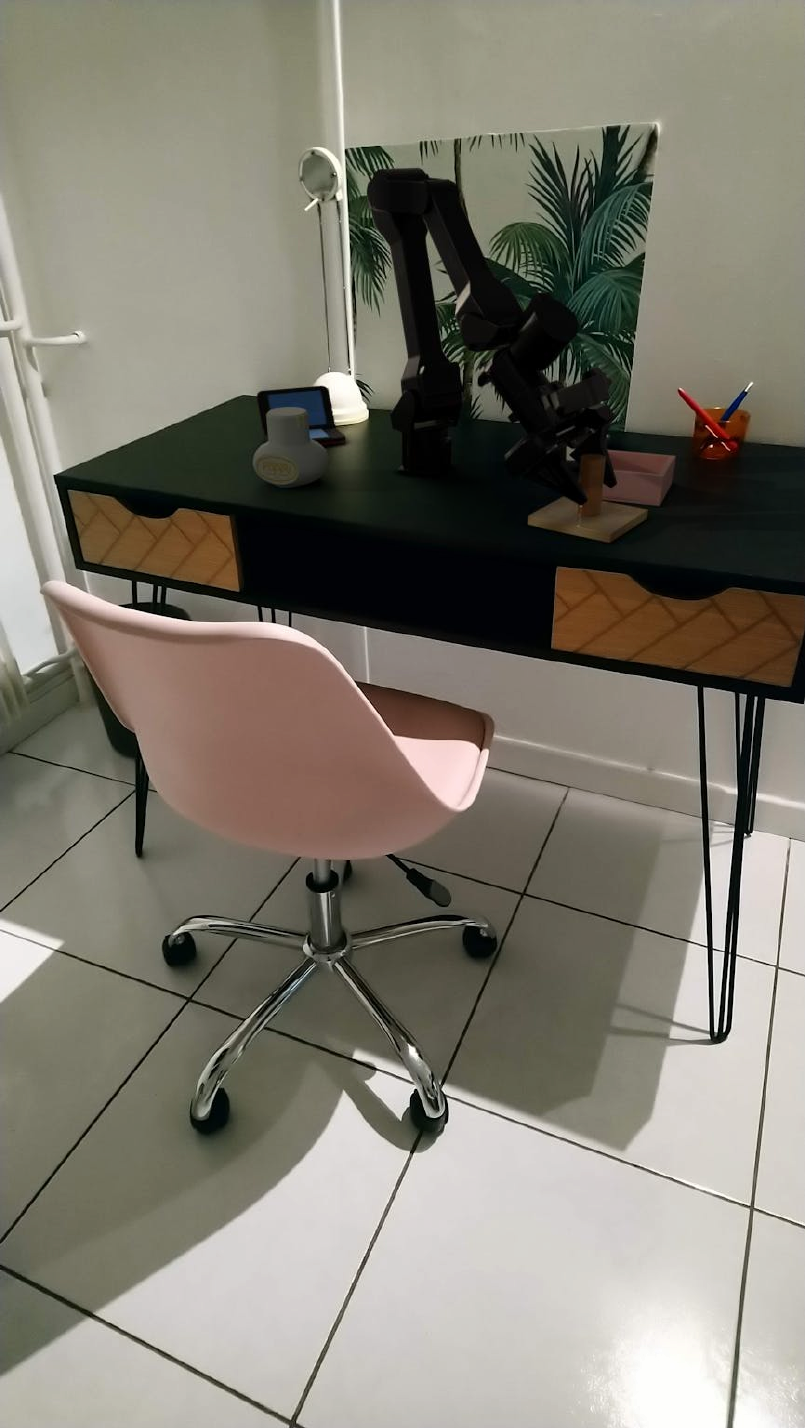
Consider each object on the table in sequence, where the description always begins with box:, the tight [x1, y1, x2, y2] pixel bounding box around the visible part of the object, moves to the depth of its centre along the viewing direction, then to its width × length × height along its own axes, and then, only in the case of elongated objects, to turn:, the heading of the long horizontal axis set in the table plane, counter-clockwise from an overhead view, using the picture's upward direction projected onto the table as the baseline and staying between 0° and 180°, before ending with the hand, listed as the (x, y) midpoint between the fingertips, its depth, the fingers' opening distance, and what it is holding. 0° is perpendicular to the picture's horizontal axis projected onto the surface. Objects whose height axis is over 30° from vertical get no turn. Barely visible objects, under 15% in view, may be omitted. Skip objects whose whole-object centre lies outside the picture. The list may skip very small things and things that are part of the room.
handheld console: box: [256, 385, 346, 446], centre depth 148 cm, size 12×11×7 cm
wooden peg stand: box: [527, 454, 649, 544], centre depth 111 cm, size 11×10×8 cm
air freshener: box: [252, 407, 330, 489], centre depth 128 cm, size 11×8×10 cm
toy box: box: [602, 449, 677, 507], centre depth 122 cm, size 11×10×4 cm
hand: (599, 494), depth 111 cm, fingers open, 8 cm apart
